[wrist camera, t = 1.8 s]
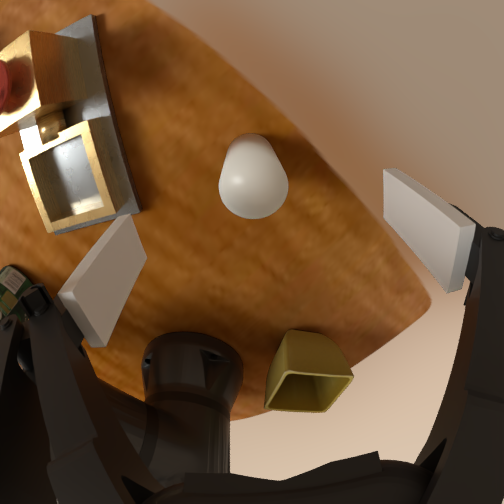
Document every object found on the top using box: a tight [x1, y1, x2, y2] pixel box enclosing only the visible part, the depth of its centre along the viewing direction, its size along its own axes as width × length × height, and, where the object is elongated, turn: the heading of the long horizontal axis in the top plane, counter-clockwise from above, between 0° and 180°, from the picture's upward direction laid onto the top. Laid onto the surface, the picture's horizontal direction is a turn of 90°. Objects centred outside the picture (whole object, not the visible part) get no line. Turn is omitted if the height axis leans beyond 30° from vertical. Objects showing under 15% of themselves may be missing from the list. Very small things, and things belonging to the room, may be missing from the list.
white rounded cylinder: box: [219, 133, 288, 219], centre depth 23 cm, size 4×4×10 cm
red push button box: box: [0, 14, 142, 235], centre depth 20 cm, size 22×12×11 cm, turn 10°
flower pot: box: [264, 329, 354, 413], centre depth 36 cm, size 9×9×9 cm
